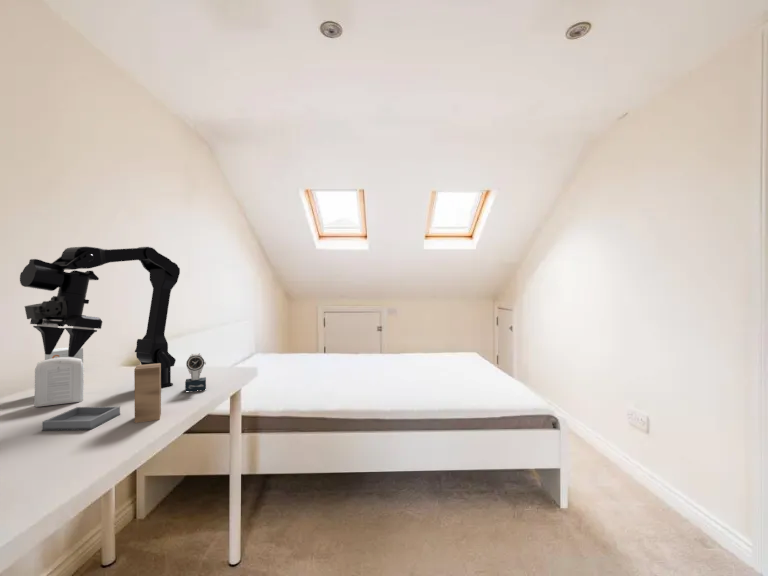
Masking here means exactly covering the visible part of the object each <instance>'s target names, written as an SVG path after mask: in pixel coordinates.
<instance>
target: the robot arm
mask: <svg viewBox="0 0 768 576" xmlns="http://www.w3.org/2000/svg"><path fill="white" fill-rule="evenodd" d="M130 261H139V262H140V263H141V265H142V267H143V268H144V269H145V270H146V271H147V272H148V273H149V281H150V284H151V286H152V294H151V301H150V307H149V308H150V309H149V314H148V321H147V328H146V332H145V334H144V336H143V337H142V338H137V340H136V347H135V350H134V353H136V354H135V355H136V359H138V360H139V362H140V365H146V364H158V363H161V388H164V387H165V388H166V387H170V385H171V386H174V383H172V381H171V378H172V377H171V376H172V375H171V373H172V371H171V370H172V369H171V368H172V367H174V366H175V364H176V357H173V355H171V354H170V352H169V344H168V341H167V338H166V336H165V330H166V325H167V318H168V313H169V307H170V306H169V303H170V298H171V292H172V289H173V288H174V287H175V286H176V284H177V283H178V281H179V277H180V274H181V269H180V267H179V266H178V264H177V263H176V262H174V261H172V260H171V259H170V258H168V257H167V256H165V255H163V254H162V253H159V252H158V251H157V250H156V249H155V248H154V247H151V246H140V247H139V246H138V247H136V248H135V247H132V248H116V249H115V248H114V249H113V248H112V249H111V248H110V249H107V248H101V247H93V246H72V247H67V248H65V249H64V250H63V251H62V253H61V255H60V256H59V257H58V258H56V260H54V261H53V262H48V261H47V262H46V261H43V260H42V259H38V258H31V259H29V262H28V264H27V265H25V267H23V269H22V271H21V272H20V275H19V284H20V285H21V286H22V287H24V288H31V289H35V290H36V289H37V290H43V291H50V292H54V291H55V290H57V289H58V290H57V294H56V296H55V295H53V296H52V297H51V298H50V300H47V301H46V300H43V301H42V302H40V303H36V304H28V305H25V306H24V310H25V315H26V316H25V317H26V319H27V320H30V322H29V325H33V326H32V327H33V328H34V329H36V330H37V331H38V332H39V333H40V335H41V338H42V339H41V340H42V344H43V349H44V350H43V351H44V355H45V354H46V355H50V354H51V353H52V351H53V350H54V349H56V347H57V345H58V343H59V340H60V339H61V337H62V335H63V334H64V332H65V331H66V332H67V333H68V335H69V339H68V347H69V349H68V356H69V357H74V356H75V355H76V353H77V352H78V351H79V350H80V348H83V346H84V345H85V344H86V343H87V341H88V340H89V339H90V338H91V337H92V336H93V334H95V333H97V332H98V330H97V329H100V330H101V329H102V325H103V321H102V320H103V319H101V318H100V317H98V316H97V317H96V316H89V315H88V316H87V315H84V314H83V313H84V308H85V304H87V305H88V304H89V302H90V299H86V296H87V292H88V288H89V282H90V281H99V280H100V278H99V277H98V275H96V274H95V272H94V271H93V270H89V269H93V268H97V267H100V266H104V265H106V264H108V263H116V262H117V263H119V262H130ZM83 269H84V270H86V269H88V270H86V271H85V272H84V271H82V270H83ZM69 270H72V271H70V272H69ZM80 270H81V271H80ZM65 325H67V327H64V326H65Z"/></svg>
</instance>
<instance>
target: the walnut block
mask: <svg viewBox="0 0 768 576" xmlns="http://www.w3.org/2000/svg"><path fill="white" fill-rule="evenodd" d="M133 373H134V375H133V376H134V423H135V424H136V423H137V424H138V423H144V422H146V423H147V422H150V421H159V420H160V419H161V415H162V387H161V363H158V364H146V365H141V364H137V365H136V366H135V367H134V372H133Z"/></svg>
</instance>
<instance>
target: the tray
mask: <svg viewBox="0 0 768 576" xmlns="http://www.w3.org/2000/svg"><path fill="white" fill-rule="evenodd" d="M120 415H121V406H76V407H74V408H72V409H70V410H67V411H65V412H63V413H60V414H57V415H55V416H53V417H50V418H48V419H46V420H43V421H42V423H41V425H42V426H41V427H42V429H41V430H42V432H49V431H50V432H52V431H57V432H59V431H92V430H93V429H95V428H98V427H99V426H101V425H103V424H104V423H105V424H106V423H107V422H109V421H110V420H112V419H114V418H116V417H118V416H120Z"/></svg>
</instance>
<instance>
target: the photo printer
mask: <svg viewBox="0 0 768 576" xmlns="http://www.w3.org/2000/svg"><path fill="white" fill-rule="evenodd" d="M84 369H85V368H84V362H83V363H82V359H78V358H71V357H60V358H52V359H48V360H45V359H44V360H40V361H39V362H37V363H36V367H35V369H34V403H33V404H34V405H33V406H34V407H36V408H39V407H47V406H48V407H49V406H55V405H57V406H58V405H63V404H70V403H71V404H72V403H80V402H83V401H84V394H85V393H84V390H85V388H84V387H85V386H84V385H85V380H84V378H85V373H84V372H85V370H84Z"/></svg>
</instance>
